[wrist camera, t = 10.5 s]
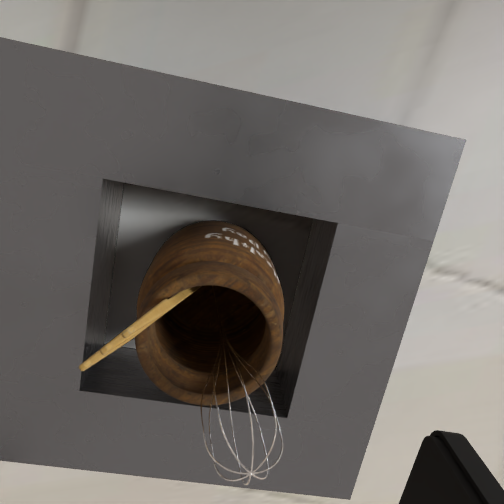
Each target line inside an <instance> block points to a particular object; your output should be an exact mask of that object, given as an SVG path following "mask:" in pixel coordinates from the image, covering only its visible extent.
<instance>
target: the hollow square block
mask: <svg viewBox="0 0 504 504" xmlns="http://www.w3.org/2000/svg"><path fill="white" fill-rule="evenodd" d="M465 142H466V140H465V139H460V138H455V137H451V136H446V135H442V134H437V133H433V132H428V131H424V130H419V129H415V128H410V127H405V126H401V125H396V124H392V123H387V122H383V121H378V120H374V119H369V118H365V117H360V116H356V115H351V114H346V113H342V112H337V111H333V110H328V109H324V108H319V107H315V106H310V105H306V104H301V103H296V102H292V101H287V100H283V99H278V98H274V97H269V96H265V95H260V94H256V93H251V92H247V91H242V90H237V89H233V88H228V87H224V86H219V85H215V84H210V83H206V82H201V81H197V80H192V79H188V78H183V77H178V76H174V75H169V74H165V73H160V72H156V71H151V70H147V69H142V68H138V67H133V66H128V65H124V64H119V63H115V62H110V61H106V60H101V59H97V58H92V57H88V56H83V55H79V54H74V53H69V52H65V51H60V50H56V49H51V48H47V47H42V46H38V45H33V44H29V43H24V42H19V41H15V40H10V39H6V38H1V37H0V461H9V462H18V463H27V464H36V465H45V466H54V467H63V468H72V469H81V470H90V471H99V472H107V473H116V474H125V475H134V476H143V477H152V478H161V479H170V480H179V481H188V482H197V483H206V484H215V485H224V486H233V487H241V488H250V489H259V490H268V491H277V492H286V493H295V494H304V495H313V496H322V497H331V498H340V499H349V500H350V498H351V495H352V492H353V489H354V486H355V483H356V479H357V476H358V473H359V470H360V467H361V464H362V461H363V458H364V455H365V452H366V448H367V445H368V442H369V439H370V436H371V433H372V430H373V427H374V424H375V421H376V418H377V414H378V411H379V408H380V405H381V402H382V399H383V396H384V393H385V390H386V387H387V383H388V380H389V377H390V374H391V371H392V368H393V365H394V362H395V359H396V356H397V353H398V349H399V346H400V343H401V340H402V337H403V334H404V331H405V328H406V325H407V322H408V318H409V315H410V312H411V309H412V306H413V303H414V300H415V297H416V294H417V291H418V287H419V284H420V281H421V278H422V275H423V272H424V269H425V266H426V263H427V260H428V257H429V253H430V250H431V247H432V244H433V241H434V238H435V235H436V232H437V229H438V226H439V222H440V219H441V216H442V213H443V210H444V207H445V204H446V201H447V198H448V195H449V192H450V188H451V185H452V182H453V179H454V176H455V173H456V170H457V167H458V164H459V161H460V157H461V154H462V151H463V148H464V145H465ZM124 183H129V184H134V185H140V186H145V187H150V188H155V189H161V190H166V191H171V192H177V193H182V194H187V195H193V196H198V197H203V198H208V199H214V200H219V201H224V202H230V203H235V204H240V205H245V206H251V207H256V208H261V209H267V210H272V211H277V212H282V213H288V214H293V215H298V216H304V217H309V218H313V222H312V226H311V230H310V235H309V239H308V243H307V247H306V251H305V255H304V259H303V263H302V267H301V271H300V276H299V280H298V284H297V288H296V292H295V296H294V300H293V304H292V308H291V313H290V317H289V321H288V325H287V329H286V333H285V337H284V341H283V345H282V349H281V354H280V358H279V362H278V366H277V370H275V369H274V370H273V372H272V373H271V375H270V376H269V377H268V378H267V380H266V381H265V383H266V386H267V388H268V391H269V394H270V397H271V401H272V404H273V407H274V409H275V412H276V415H277V419H278V422H279V426H280V430H281V434H282V439H283V451H282V455H281V457H280V459H279V461H278V462H277V464H276V465H275V466H273V467H272V468H271V469H269V471H268V475H267V477H266V478H265V479H258V478H256V477H254V476H252V475H251V479H250V482H249V484H248V485H245V484H244V483H243V481H242V480H239V481H228V480H225V479H223V478H222V477H221V476H220V475H219V474H218V473H217V471H216V469H215V466H214V462H213V459H212V457H211V456H210V455H209V453H208V451H207V449H206V446H205V442H204V437H203V430H202V423H201V413H200V405H195V404H190V403H186V402H183V401H180V400H178V399H175V398H173V397H171V396H170V395H168V394H166V393H165V392H163V391H162V390H161V389H159V388H158V387H157V386H156V385H155V384H154V383H153V382H152V381H151V380H150V379H149V377H148V376H147V375H146V373H145V371H144V370H143V368H142V366H141V364H140V361H139V359H138V355H137V351H136V349H131V348H124V347H120V348H118V349H117V350H115V351H114V352H112V353H111V354H109V355H107V356H106V357H104V358H103V359H101V360H100V361H98V362H97V363H95V364H94V365H92V366H91V367H89V368H88V369H86V370H85V371H80V369H79V365H80V364H82V363H83V362H84V361H86V360H87V359H88V358H89V357H91V356H92V355H93V354H95V353H96V352H97V351H99V350H100V349H101V348H102V347H103V346H105V345H104V342H105V334H106V325H107V317H108V309H109V301H110V293H111V285H112V277H113V269H114V260H115V252H116V244H117V236H118V228H119V220H120V212H121V203H122V195H123V187H124ZM261 386H262V387H263V389H264V390H265V392H266V393H267V395H268V392H267V389H266V387H265V384H264V383H263V384H262V385H261ZM248 396H249V399H250V401H251V403H252V406H253V408H254V411H255V414H256V416H257V419H258V422H259V426H260V429H261V433H262V437H263V441H264V445H265V449H266V454H268V452H269V450H270V448H271V446H272V443H273V439H274V434H275V420H274V415H273V411H272V407H271V403H270V401H269V399H268V397H267V396H266V394H265V393H264V391H263V390H262V388H261V387H259V388H257V389H256V390H255V391H253V392H252V393H250V394H249V395H248ZM268 396H269V395H268ZM247 398H248V397H247ZM248 402H249V400H248ZM230 406H231V416H232V425H233V432H234V438H235V444H236V449H237V455H238V459H239V460H240V462H241V463H242V464H243V465H244V466H245V467H246V468H247V469H248V470H249V471H251V464H252V433H251V422H250V415H249V410H248V405H247V401H246V396H245V397H243V398H241V399H239V400H236V401H233V402H230ZM249 407H250V412H251V418H252V425H253V437H254V460H253V469H252V471H253V470H255V469H256V468H257V467H258V466H259V465H260V464H261V463H262V462H263V460H264V459H265V457H266V456H265V452H264V447H263V443H262V438H261V434H260V431H259V427H258V424H257V421H256V418H255V415H254V412H253V409H252V407H251V404H250V402H249ZM218 409H219V414H220V419H221V424H222V427H223V430H224V433H225V436H226V438H227V440H228V442H229V444H230V446H231V448H232V450H233V452H234V453H235V455H236V452H235V446H234V441H233V434H232V427H231V419H230V410H229V403H226V404H221V405H218ZM209 411H210V406H206V405H202V419H203V426H204V433H205V439H206V443H207V447H208V449H209V451H210V453H211V454H212V452H211V445H210V438H209ZM276 422H277V421H276ZM210 433H211V442H212V448H213V454H214V458H215V460H217V461H218V462H219V463H220V464H221V465H223V466H224V467H226V468H228V469H230V470H233V471H237V472H239V467H238V462H237V459H236V458H235V456H234V455H233V453H232V452H231V450H230V448H229V446H228V444H227V442H226V440H225V438H224V435H223V433H222V430H221V426H220V422H219V418H218V412H217V407H216V405H212V406H211V414H210ZM281 447H282V442H281V437H280V432H279V428H278V424H277V431H276V438H275V442H274V445H273V448H272V450H271V452H270V454H269V456H268V458H267V459H268V465H269V467H271V466H272V465H273V464H274V463H275V462H276V461H277V459H278V458H279V455H280V453H281ZM215 464H216V467H217V469H218V471H219V472H220V474H221V475H222V476H224V477H225V478H227V479H239V478H241V476H240V474H237V473H233V472H230V471H228V470H226V469H224V468H222V467H221V466H219V465H218V464H217V463H216V462H215ZM239 465H240V470H241V472H247V471H246V470H245V469H244V468H243V467H242V466H241V464H240V463H239ZM265 469H267V461H265V462H264V463H263V464H262V465H261V466H260V467H259V468H258V469H257V470H256V471H255V472H258V471H262V470H265ZM266 473H267V471H265V472H262V473H258V474H254V475H256V476H258V477H260V478H263V477H265V476H266ZM246 475H247V474H242V477H244V476H246ZM249 476H250V475H249ZM249 476H248V477H246V478H244V479H243V480H244V482H245V483H247V482H248V480H249Z"/></svg>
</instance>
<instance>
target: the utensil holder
mask: <svg viewBox="0 0 504 504" xmlns="http://www.w3.org/2000/svg"><path fill="white" fill-rule="evenodd" d="M283 320H284V298H283V292H282V288H281V285H280V281H279V278H278V276H277V273H276V270H275V267H274V265H273V262H272V260H271V258H270V256H269V254H268V252H267V251H266V249H265V248H264V246H263V245H262V244H261V243H260V241H259V240H258V239H257V238H256V237H254V236H253V235H252V234H251V233H249V232H248V231H247V230H245V229H243V228H241V227H239V226H237V225H234V224H231V223H228V222H223V221H203V222H198V223H194V224H191V225H189V226H186V227H184V228H182V229H181V230H179V231H178V232H176V233H175V234H173V235H172V236H171V237H170V238H169V239H168V240H167V241H166V242H165V243H164V244H163V245H162V247H161V248H160V249H159V251H158V252H157V254H156V256H155V258H154V259H153V261H152V263H151V265H150V267H149V269H148V271H147V273H146V275H145V277H144V279H143V282H142V285H141V288H140V291H139V295H138V301H137V319H136V321H135V322H134V323H133V324H132V325H130V326H129V327H128V328H126V329H125V330H124V331H123V332H122V333H120V334H119V335H118V336H116V337H115V338H114V339H112V340H111V341H110V342H109V343H107V344H106V345H105V346H103V347H102V348H101V349H100V350H99V351H97V352H96V353H95V354H93V355H92V356H91V357H89V358H88V359H87V360H86V361H84V362H83V363H82V364H80V365H79V369H80V371H85V370H86V369H88V368H89V367H91V366H92V365H94V364H95V363H97V362H98V361H100V360H101V359H103V358H104V357H106V356H107V355H109V354H111V353H112V352H114V351H115V350H117V349H118V348H120V347H121V346H123V345H124V344H126V343H127V342H129V341H130V340H131V339H133V338H134V337H135V344H136V351H137V355H138V359H139V361H140V364H141V366H142V368H143V370H144V371H145V373H146V375H147V376H148V377H149V379H150V380H151V381H152V382H153V383H154V384H155V385H156V386H157V387H158V388H159V389H161V390H162V391H163V392H165V393H166V394H168V395H170V396H171V397H173V398H175V399H178V400H180V401H183V402H186V403H190V404H195V405H200V413H201V423H202V430H203V437H204V442H205V446H206V449H207V451H208V453H209V455H210V456H211V457H212V459H213V462H214V466H215V469H216V471H217V473H218V474H219V475H220V476H221V477H222V478H223V479H225V480H228V481H239V480H242V481H243V483H244V484H245V485H248V484H249V482H250V479H251V475H252V476H254V477H256V478H258V479H265V478H266V477H267V475H268V471H269V469H271V468H272V467H273V466H275V465H276V464H277V462H278V461H279V459H280V457H281V455H282V451H283V439H282V434H281V430H280V426H279V422H278V419H277V415H276V412H275V409H274V407H273V404H272V401H271V397H270V394H269V391H268V388H267V386H266V383H265V381H266V380H267V378H268V377H269V376H270V375H271V373H272V372H273V370H274V368H275V366H276V364H277V362H278V359H279V356H280V353H281V348H282V341H283ZM263 383H264V384H265V387H266V389H267V392H268V395H269V396H268V395H267V393H266V392H265V390H264V389H263V387H262V386H261V385H262V384H263ZM259 387H261V388H262V390H263V391H264V393H265V394H266V396H267V397H268V399H269V401H270V403H271V407H272V411H273V415H274V420H275V434H274V439H273V443H272V446H271V448H270V450H269V452H268V454H266V449H265V445H264V441H263V437H262V433H261V429H260V426H259V422H258V419H257V416H256V414H255V411H254V408H253V406H252V403H251V401H250V399H249V396H248V395H249V394H250V393H252V392H253V391H255V390H256V389H257V388H259ZM245 396H246V401H247V405H248V410H249V415H250V422H251V433H252V464H251V471H249V470H248V469H247V468H246V467H245V466H244V465H243V464H242V463H241V462H240V460H239V459H238V455H237V449H236V444H235V438H234V432H233V425H232V416H231V406H230V402H233V401H236V400H239V399H241V398H243V397H245ZM247 397H248V398H247ZM248 400H249V402H250V404H251V407H252V409H253V412H254V415H255V418H256V421H257V424H258V427H259V431H260V434H261V438H262V443H263V447H264V452H265V456H266V457H265V459H264V460H263V462H262V463H261V464H260V465H259V466H258V467H257V468H256V469H255V470H253V471H252V469H253V460H254V437H253V425H252V418H251V412H250V407H249V402H248ZM226 403H229V410H230V419H231V427H232V434H233V441H234V446H235V452H236V455H235V453H234V452H233V450H232V448H231V446H230V444H229V442H228V440H227V438H226V436H225V433H224V430H223V427H222V424H221V419H220V414H219V409H218V405H221V404H226ZM202 405H206V406H210V411H209V438H210V445H211V452H212V454H211V453H210V451H209V449H208V447H207V443H206V439H205V433H204V426H203V419H202ZM212 405H216V407H217V412H218V418H219V422H220V426H221V430H222V433H223V435H224V438H225V440H226V442H227V444H228V446H229V448H230V450H231V452H232V453H233V455H234V456H235V458H236V459H237V462H238V467H239V472H237V471H233V470H230V469H228V468H226V467H224V466H223V465H221V464H220V463H219V462H218V461H217V460H215V458H214V454H213V448H212V442H211V433H210V414H211V406H212ZM276 421H277V422H276ZM277 424H278V428H279V432H280V437H281V442H282V447H281V453H280V455H279V458H278V459H277V461H276V462H275V463H274V464H273V465H272V466H271V467H269V465H268V459H267V458H268V456H269V454H270V452H271V450H272V448H273V445H274V442H275V438H276V431H277ZM265 461H267V469H265V470H262V471H258V472H255V471H256V470H257V469H258V468H259V467H260V466H261V465H262V464H263V463H264V462H265ZM215 462H216V463H217V464H218V465H219V466H221V467H222V468H224V469H226V470H228V471H230V472H233V473H237V474H240V476H241V478H239V479H227V478H225V477H224V476H222V475H221V474H220V472H219V471H218V469H217V467H216V464H215ZM239 463H240V464H241V466H242V467H243V468H244V469H245V470H246V471H247V472H241V470H240V465H239ZM265 471H267V473H266V476H265V477H263V478H260V477H258V476H256V475H254V474H258V473H262V472H265ZM242 474H247V475H246V476H244V477H242ZM249 475H250V476H249ZM248 476H249V480H248V482H247V483H245V482H244V480H243V479H244V478H246V477H248Z"/></svg>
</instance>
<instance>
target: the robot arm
mask: <svg viewBox="0 0 504 504" xmlns="http://www.w3.org/2000/svg"><path fill="white" fill-rule="evenodd" d="M399 504H504V490H503V488H502V487H501V486H500V484H499V483H498V482H497V480H496V479H495V477H494V476H493V475H492V473H491V472H490V471H489V469H488V468H487V466H486V465H485V464H484V462H483V461H482V460H481V458H480V457H479V455H478V454H477V453H476V451H475V450H474V449H473V447H472V446H471V444H470V443H469V442H468V440H467V439H466V438H465V437H464V436H463V435H461V434H458V433H452V432H445V431H438V430H437V431H434V432H432V433H431V435H430V436H426V437H425V438H424V440H423V442H422V444H421V447H420V449H419V452H418V455H417V457H416V460H415V463H414V465H413V468H412V470H411V473H410V476H409V478H408V481H407V484H406V486H405V489H404V491H403V494H402V497H401V499H400V502H399Z"/></svg>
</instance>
